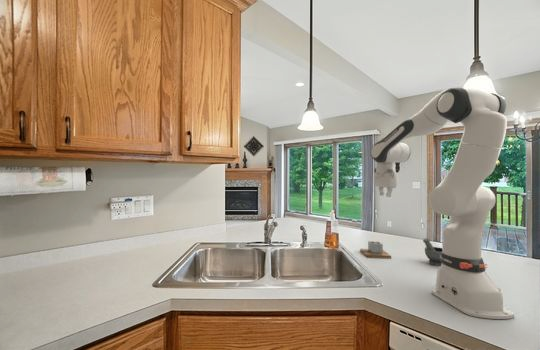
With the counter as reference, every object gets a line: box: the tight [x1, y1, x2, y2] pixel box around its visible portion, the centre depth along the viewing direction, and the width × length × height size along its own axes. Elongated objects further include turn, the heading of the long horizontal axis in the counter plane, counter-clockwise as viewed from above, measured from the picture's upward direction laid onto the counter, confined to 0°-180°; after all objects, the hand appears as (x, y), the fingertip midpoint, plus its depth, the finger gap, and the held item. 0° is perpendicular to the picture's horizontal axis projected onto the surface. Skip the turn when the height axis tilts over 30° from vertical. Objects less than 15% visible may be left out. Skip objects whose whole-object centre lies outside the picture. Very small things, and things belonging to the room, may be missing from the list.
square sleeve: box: [367, 240, 384, 254], centre depth 139 cm, size 6×6×5 cm
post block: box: [359, 241, 392, 259], centre depth 139 cm, size 12×12×6 cm
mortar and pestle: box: [422, 237, 442, 267], centre depth 125 cm, size 11×9×12 cm
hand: (385, 196), depth 136 cm, fingers open, 8 cm apart
